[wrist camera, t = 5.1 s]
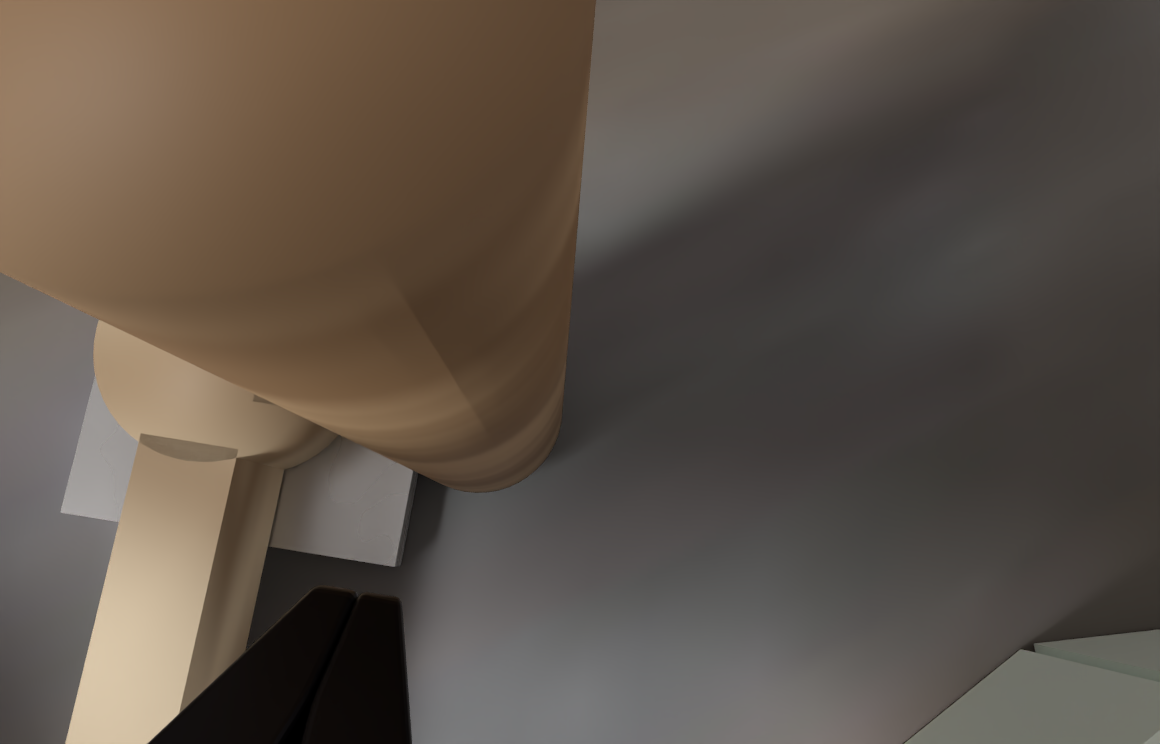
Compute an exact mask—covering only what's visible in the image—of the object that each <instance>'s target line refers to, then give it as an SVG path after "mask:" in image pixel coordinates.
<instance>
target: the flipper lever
mask: <svg viewBox="0 0 1160 744" xmlns="http://www.w3.org/2000/svg"><path fill="white" fill-rule="evenodd" d="M595 5H596V0H0V272H1V273H3V274H5V275H7V276H9V277H12V278H14V279H16V280H18V281H20V282H22V283H24V284H26V285H28V286H30V287H32V288H34V289H37V290H39V291H41V292H43V293H45V294H47V295H49V296H51V297H53V298H55V299H57V300H59V301H62V302H64V303H66V304H68V305H70V306H72V307H74V308H76V309H78V310H80V311H82V312H84V313H87V314H89V315H91V316H93V317H95V318H97V319H99V322H98V325H97V329H96V335H95V340H94V354H93V358H94V370H95V375H96V380H97V384H98V388H99V390H100V393H101V395H102V398H103V401H104V402H105V404H106V406H107V408H108V410H109V411H110V413H111V414H112V416H113V417H114V418H115V420H116V421H117V422H118V424H119V425H120V426H121V427H122V428H123V429H124V430H125V431H126V432H127V433H128V434H129V435H130V436H131V437H133V438H134V439H136V440H137V441H138V442H139V443H138V447H137V451H136V455H135V459H134V463H133V467H132V471H131V476H130V480H129V484H128V488H127V492H126V496H125V500H124V504H123V508H122V513H121V517H120V521H119V525H118V529H117V533H116V537H115V541H114V545H113V550H112V554H111V558H110V562H109V566H108V570H107V574H106V578H105V582H104V587H103V591H102V595H101V599H100V603H99V607H98V611H97V615H96V619H95V624H94V628H93V632H92V636H91V640H90V644H89V648H88V652H87V656H86V661H85V665H84V669H83V673H82V677H81V681H80V685H79V689H78V693H77V698H76V702H75V706H74V710H73V714H72V718H71V722H70V726H69V730H68V735H67V739H66V743H65V744H147V743H148V742H150V741H151V740H152V739H153V738H154V737H155V736H156V735H157V734H158V733H159V732H160V731H161V730H162V729H163V728H164V727H165V726H167V725H168V724H169V723H170V722H171V721H172V720H173V719H174V718H175V717H176V716H177V715H178V714H179V713H180V712H181V711H182V710H183V709H185V708H186V707H187V706H188V705H189V704H190V703H191V702H192V701H193V700H194V699H195V698H196V697H197V696H198V695H199V694H200V693H202V692H203V691H204V690H205V689H206V688H207V687H208V686H209V685H210V684H211V683H212V682H213V681H214V680H215V679H216V678H217V677H219V676H220V675H221V674H222V673H223V672H224V671H225V670H226V669H227V668H228V667H229V666H230V665H231V664H232V663H233V662H234V661H236V660H237V659H238V658H239V657H240V656H241V655H242V654H243V653H244V652H245V650H246V645H247V640H248V636H249V631H250V627H251V622H252V617H253V613H254V608H255V603H256V599H257V594H258V589H259V585H260V580H261V575H262V571H263V566H264V561H265V557H266V552H267V547H268V543H269V538H270V533H271V529H272V524H273V519H274V515H275V510H276V506H277V501H278V496H279V492H280V487H281V482H282V478H283V473H284V470H285V469H288V468H292V467H295V466H297V465H299V464H301V463H304V462H306V461H307V460H309V459H311V458H312V457H314V456H316V455H317V454H319V453H320V452H321V451H322V450H324V449H325V448H326V447H327V446H329V445H330V444H331V442H332V441H333V440H334V439H335V438H336V437H337V436H338V435H340V436H343V437H345V438H347V439H349V440H351V441H353V442H355V443H357V444H359V445H361V446H363V447H365V448H368V449H370V450H372V451H374V452H376V453H378V454H380V455H382V456H384V457H386V458H388V459H390V460H393V461H395V462H397V463H399V464H401V465H403V466H405V467H407V468H409V469H411V470H413V471H415V472H417V473H420V474H422V475H424V476H426V477H428V478H430V479H432V480H434V481H436V482H438V483H440V484H442V485H445V486H447V487H450V488H453V489H456V490H460V491H464V492H474V493H481V492H492V491H497V490H501V489H504V488H507V487H510V486H512V485H514V484H516V483H519V482H520V481H522V480H523V479H525V478H527V477H528V476H529V475H530V474H532V473H533V472H534V471H535V470H536V469H537V468H538V467H539V466H540V465H541V464H542V463H543V462H544V461H545V459H546V458H547V456H548V455H549V454H550V452H551V450H552V448H553V446H554V445H555V442H556V440H557V437H558V434H559V431H560V426H561V421H562V411H563V398H564V386H565V374H566V361H567V349H568V337H569V325H570V312H571V300H572V288H573V275H574V263H575V251H576V239H577V226H578V214H579V202H580V189H581V177H582V165H583V152H584V140H585V128H586V116H587V103H588V91H589V79H590V66H591V54H592V42H593V30H594V17H595Z"/></svg>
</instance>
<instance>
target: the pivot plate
mask: <svg viewBox="0 0 1160 744" xmlns="http://www.w3.org/2000/svg"><path fill="white" fill-rule="evenodd" d="M138 443H139V442H138V441H137V440H136V439H134V438H133V437H131V436H130V435H129V434H128V433H127V432H126V431H125V430H124V429H123V428H122V427H121V426H120V425H119V424H118V422H117V421H116V420H115V418H114V417H113V416H112V414H111V413H110V411H109V410H108V408H107V406H106V404H105V402H104V401H103V398H102V395H101V393H100V390H99V388H98V384H97V380H96V375H95V378H94V382H93V386H92V390H91V394H90V398H89V402H88V406H87V410H86V414H85V418H84V422H83V426H82V430H81V433H80V437H79V441H78V445H77V449H76V453H75V457H74V461H73V465H72V469H71V473H70V477H69V481H68V485H67V488H66V492H65V496H64V500H63V504H62V508H61V512H60V513H66V514H72V515H79V516H85V517H91V518H97V519H103V520H109V521H115V522H119V521H120V517H121V513H122V508H123V504H124V500H125V496H126V492H127V488H128V484H129V480H130V476H131V471H132V467H133V463H134V459H135V455H136V451H137V447H138ZM417 478H418V473H417V472H415V471H413V470H411V469H409V468H407V467H405V466H403V465H401V464H399V463H397V462H395V461H393V460H390V459H388V458H386V457H384V456H382V455H380V454H378V453H376V452H374V451H372V450H370V449H368V448H365V447H363V446H361V445H359V444H357V443H355V442H353V441H351V440H349V439H347V438H345V437H343V436H340V435H338V436H337V437H336V438H335V439H334V440H333V441H332V442H331V444H330V445H329V446H327V447H326V448H325V449H324V450H322V451H321V452H320V453H319V454H317V455H316V456H314V457H312V458H311V459H309V460H307V461H306V462H304V463H301V464H299V465H297V466H295V467H292V468H288V469H285V470H284V473H283V478H282V482H281V487H280V492H279V496H278V501H277V506H276V510H275V515H274V519H273V524H272V529H271V533H270V538H269V543H268V546H269V547H275V548H281V549H287V550H294V551H300V552H306V553H312V554H318V555H324V556H330V557H337V558H343V559H349V560H355V561H361V562H367V563H373V564H380V565H386V566H392V567H397V566H401V563H402V557H403V552H404V547H405V542H406V536H407V531H408V526H409V520H410V515H411V510H412V505H413V499H414V494H415V489H416V484H417Z"/></svg>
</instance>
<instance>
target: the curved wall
mask: <svg viewBox="0 0 1160 744" xmlns="http://www.w3.org/2000/svg"><path fill="white" fill-rule="evenodd" d="M1034 647H1035V652H1031V651H1027V650H1022V649H1020V650H1019V651H1018V652H1016V653H1015V654H1014V655H1013V656H1012V657H1010V658H1009V659H1008V660H1007V661H1005V662H1004V663H1003V664H1002V665H1000V666H999V667H998V668H997V669H995V670H994V671H993V672H992V673H991V674H989V675H988V676H987V677H986V678H984V679H983V680H982V681H981V682H979V683H978V684H977V685H976V686H975V687H973V688H972V689H971V690H970V691H968V692H967V693H966V694H965V695H963V696H962V697H961V698H960V699H958V700H957V701H956V702H955V703H954V704H952V705H951V706H950V707H949V708H947V709H946V710H945V711H944V712H942V713H941V714H940V715H939V716H938V717H936V718H935V719H934V720H933V721H931V722H930V723H929V724H928V725H926V726H925V727H924V728H923V729H921V730H920V731H919V732H918V733H917V734H915V735H914V736H913V737H912V738H910V739H909V740H908V741H907V742H905V743H904V744H1160V629H1159V630H1150V631H1141V632H1132V633H1124V634H1115V635H1106V636H1097V637H1088V638H1079V639H1070V640H1061V641H1052V642H1044V643H1035V644H1034Z"/></svg>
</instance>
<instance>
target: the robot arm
mask: <svg viewBox="0 0 1160 744" xmlns="http://www.w3.org/2000/svg"><path fill="white" fill-rule="evenodd" d="M147 744H412V734H411V720H410V707H409V693H408V679H407V665H406V651H405V637H404V623H403V610H402V602H401V600H400V599H399V598H398V597H394V596H388V595H382V594H376V593H369V592H365V593H362V594H360V596H358V593H357V592H356V591H354V590H351V589H345V588H339V587H333V586H327V585H319V586H316V587H314V588H312V589H311V590H310V591H309V592H308V593H307V594H306V595H305V596H303V597H302V598H301V599H300V600H299V601H298V602H297V603H296V604H295V605H294V606H293V607H292V608H291V609H290V610H289V611H288V612H286V613H285V614H284V615H283V616H282V617H281V618H280V619H279V620H278V621H277V622H276V623H275V624H274V625H273V626H272V627H271V628H269V629H268V630H267V631H266V632H265V633H264V634H263V635H262V636H261V637H260V638H259V639H258V640H257V641H256V642H255V643H254V644H252V645H251V646H250V647H249V648H248V649H247V650H246V651H245V652H244V653H243V654H242V655H241V656H240V657H239V658H238V659H237V660H236V661H234V662H233V663H232V664H231V665H230V666H229V667H228V668H227V669H226V670H225V671H224V672H223V673H222V674H221V675H220V676H219V677H217V678H216V679H215V680H214V681H213V682H212V683H211V684H210V685H209V686H208V687H207V688H206V689H205V690H204V691H203V692H202V693H200V694H199V695H198V696H197V697H196V698H195V699H194V700H193V701H192V702H191V703H190V704H189V705H188V706H187V707H186V708H185V709H183V710H182V711H181V712H180V713H179V714H178V715H177V716H176V717H175V718H174V719H173V720H172V721H171V722H170V723H169V724H168V725H167V726H165V727H164V728H163V729H162V730H161V731H160V732H159V733H158V734H157V735H156V736H155V737H154V738H153V739H152V740H151V741H150V742H148V743H147Z"/></svg>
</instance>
